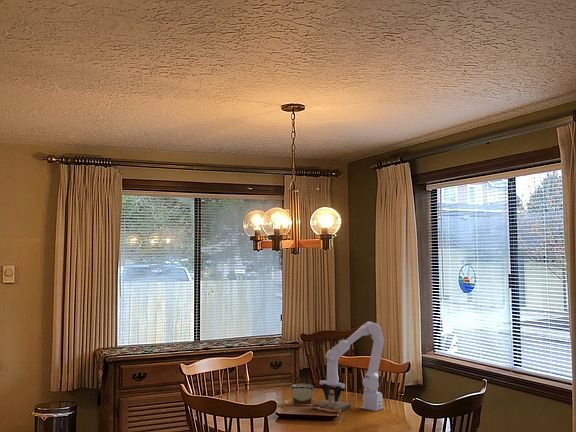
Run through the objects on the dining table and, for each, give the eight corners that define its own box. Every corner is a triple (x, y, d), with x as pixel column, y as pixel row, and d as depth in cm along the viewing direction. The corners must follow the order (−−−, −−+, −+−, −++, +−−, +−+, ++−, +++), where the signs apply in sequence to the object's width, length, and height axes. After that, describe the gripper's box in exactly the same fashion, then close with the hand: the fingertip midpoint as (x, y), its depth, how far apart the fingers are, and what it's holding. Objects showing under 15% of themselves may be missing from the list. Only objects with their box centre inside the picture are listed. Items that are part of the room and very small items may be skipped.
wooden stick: (335, 408, 309) (335, 392, 310) (332, 409, 307) (332, 393, 308) (331, 408, 310) (331, 392, 311) (328, 408, 308) (328, 393, 309)
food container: (314, 403, 321) (314, 384, 322) (313, 405, 315) (314, 386, 316) (291, 402, 323) (291, 383, 324) (290, 404, 316) (290, 385, 317)
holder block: (350, 408, 310) (350, 403, 310) (335, 413, 299) (335, 408, 299) (328, 404, 318) (328, 399, 319) (312, 408, 307) (312, 403, 308)
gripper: (316, 372, 312) (315, 399, 310) (339, 376, 303) (339, 403, 301) (324, 371, 317) (323, 397, 316) (347, 374, 308) (347, 401, 307)
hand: (331, 400), depth 309 cm, fingers open, 5 cm apart
